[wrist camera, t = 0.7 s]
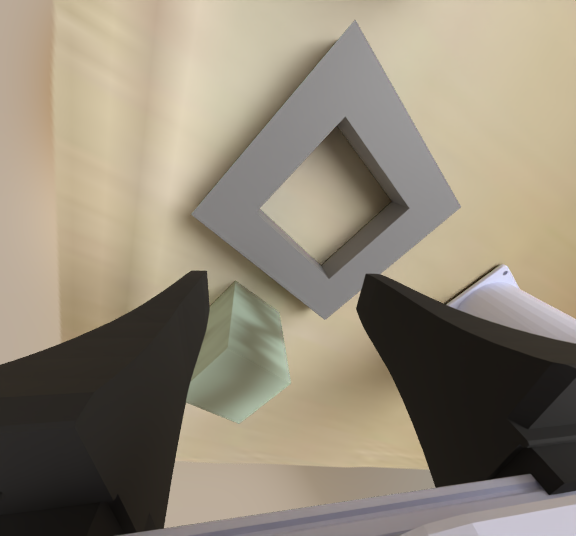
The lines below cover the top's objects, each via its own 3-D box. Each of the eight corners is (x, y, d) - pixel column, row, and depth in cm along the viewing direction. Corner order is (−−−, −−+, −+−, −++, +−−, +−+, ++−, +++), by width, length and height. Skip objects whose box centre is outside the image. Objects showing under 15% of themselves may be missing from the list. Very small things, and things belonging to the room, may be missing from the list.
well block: (438, 200, 20) (461, 206, 18) (318, 303, 24) (324, 320, 21) (339, 38, 14) (355, 19, 12) (198, 205, 18) (190, 214, 16)
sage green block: (279, 312, 23) (291, 383, 16) (242, 344, 25) (239, 423, 18) (235, 280, 21) (227, 347, 14) (197, 318, 22) (173, 397, 15)
